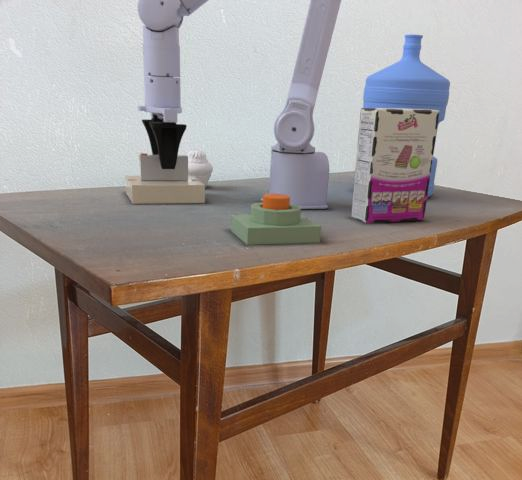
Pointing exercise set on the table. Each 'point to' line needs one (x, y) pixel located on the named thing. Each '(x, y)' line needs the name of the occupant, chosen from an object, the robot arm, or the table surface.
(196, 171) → the muffin
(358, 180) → the candy bar box
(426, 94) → the water jug
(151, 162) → the gray rectangular brick
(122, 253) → the table surface
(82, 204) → the table surface
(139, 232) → the table surface
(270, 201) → the button
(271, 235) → the switch
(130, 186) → the base
